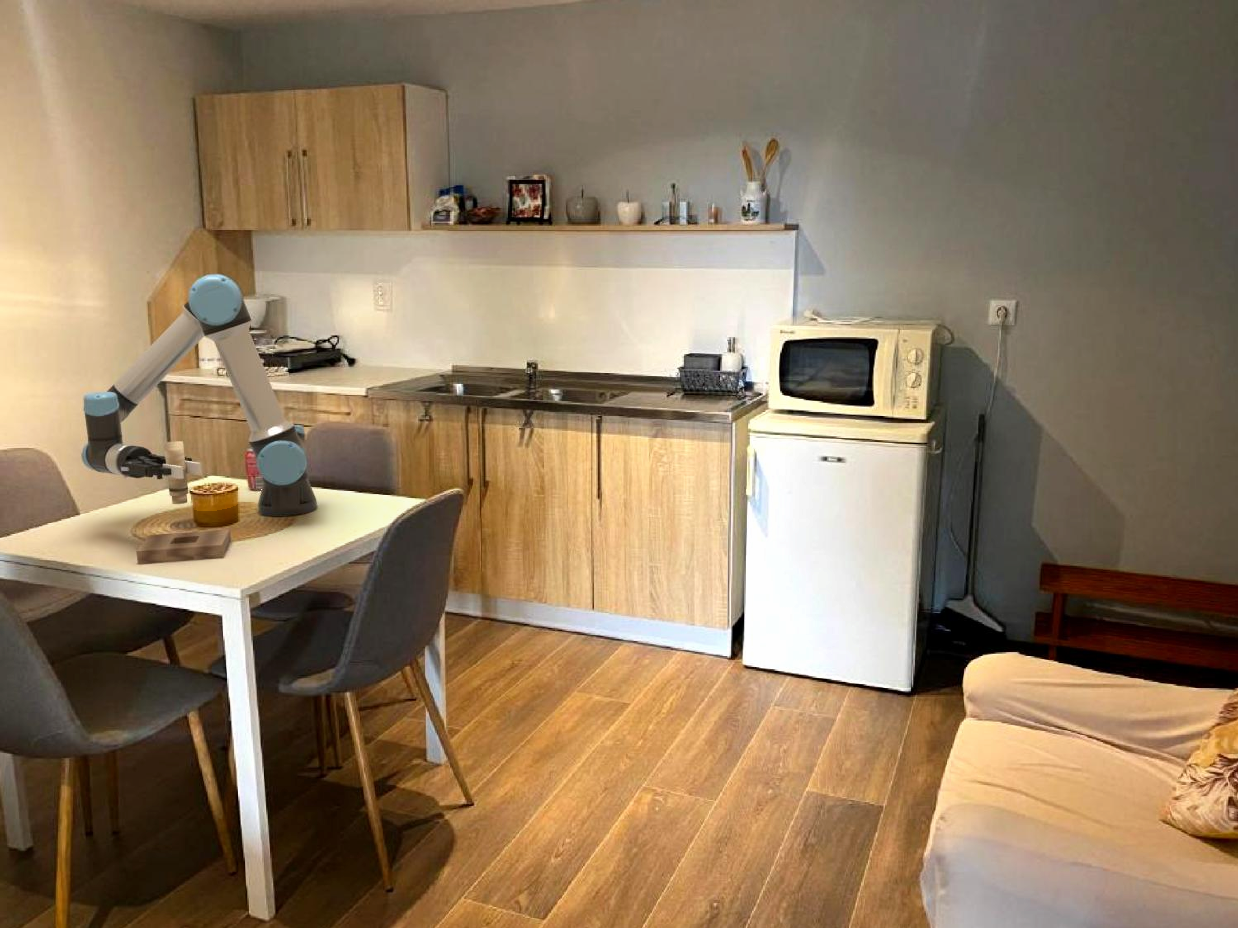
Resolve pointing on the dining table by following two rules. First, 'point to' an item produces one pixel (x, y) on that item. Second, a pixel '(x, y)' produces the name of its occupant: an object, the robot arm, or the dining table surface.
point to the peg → (176, 457)
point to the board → (184, 546)
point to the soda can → (253, 471)
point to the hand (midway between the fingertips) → (190, 470)
